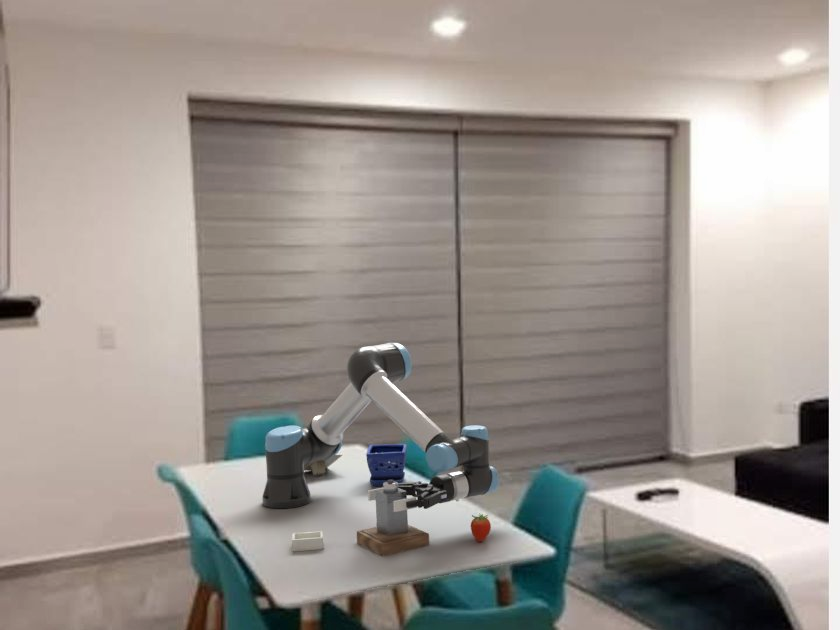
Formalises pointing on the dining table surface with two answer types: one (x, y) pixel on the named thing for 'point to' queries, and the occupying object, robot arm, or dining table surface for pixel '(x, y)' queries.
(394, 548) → the stand
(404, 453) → the flower pot
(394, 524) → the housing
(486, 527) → the fruit
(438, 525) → the dining table surface
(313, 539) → the box
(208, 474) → the dining table surface
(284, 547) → the dining table surface
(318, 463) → the wall
